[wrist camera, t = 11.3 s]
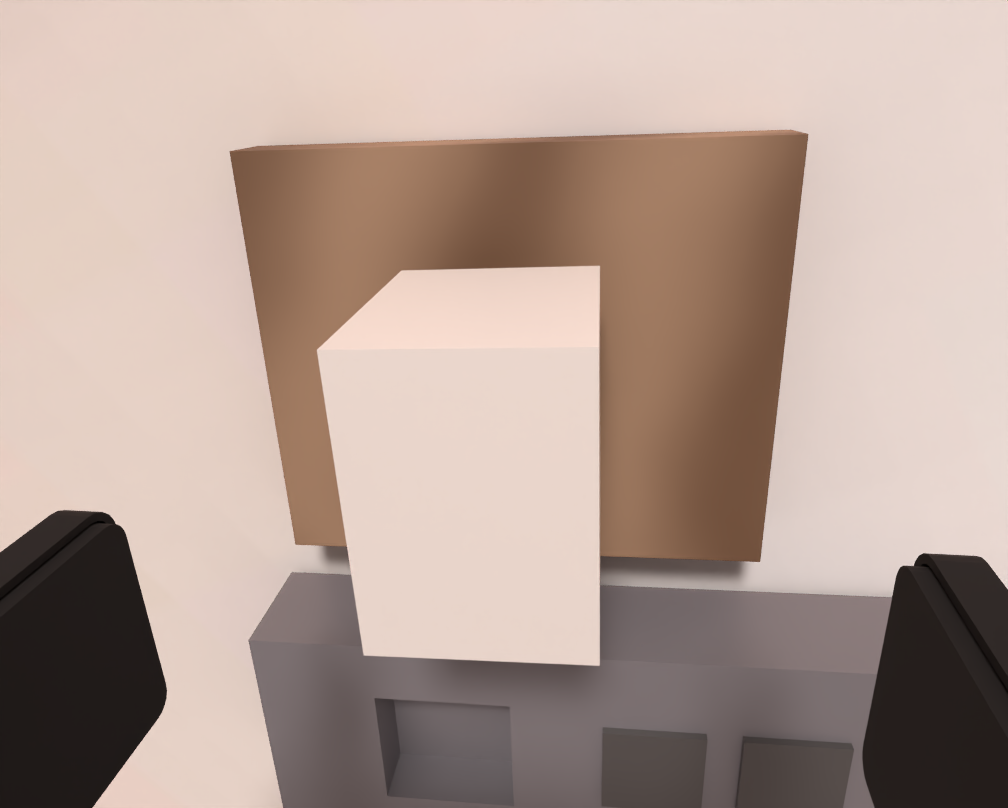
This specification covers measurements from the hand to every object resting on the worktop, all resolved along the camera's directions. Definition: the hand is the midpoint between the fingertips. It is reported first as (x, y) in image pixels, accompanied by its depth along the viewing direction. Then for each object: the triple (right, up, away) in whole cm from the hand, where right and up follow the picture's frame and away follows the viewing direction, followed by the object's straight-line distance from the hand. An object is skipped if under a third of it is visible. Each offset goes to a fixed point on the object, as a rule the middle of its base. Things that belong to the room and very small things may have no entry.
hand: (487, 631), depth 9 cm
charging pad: (+1, +4, +10) cm, 11 cm away
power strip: (+3, -6, +14) cm, 15 cm away
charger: (0, +4, +8) cm, 9 cm away
